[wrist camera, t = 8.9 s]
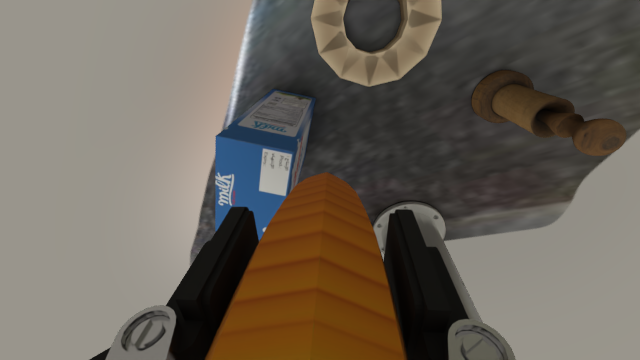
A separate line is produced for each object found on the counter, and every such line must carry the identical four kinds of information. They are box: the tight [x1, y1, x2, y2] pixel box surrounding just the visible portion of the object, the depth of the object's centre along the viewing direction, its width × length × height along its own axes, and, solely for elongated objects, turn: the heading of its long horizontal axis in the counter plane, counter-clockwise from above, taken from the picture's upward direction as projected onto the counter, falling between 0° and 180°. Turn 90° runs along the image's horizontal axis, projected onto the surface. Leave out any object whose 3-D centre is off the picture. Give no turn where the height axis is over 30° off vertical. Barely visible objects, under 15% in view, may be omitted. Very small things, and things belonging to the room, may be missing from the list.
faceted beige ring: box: [311, 0, 442, 86], centre depth 32 cm, size 14×14×4 cm
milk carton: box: [216, 89, 316, 240], centre depth 32 cm, size 10×6×20 cm, turn 169°
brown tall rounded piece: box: [472, 70, 626, 156], centre depth 29 cm, size 7×6×18 cm
